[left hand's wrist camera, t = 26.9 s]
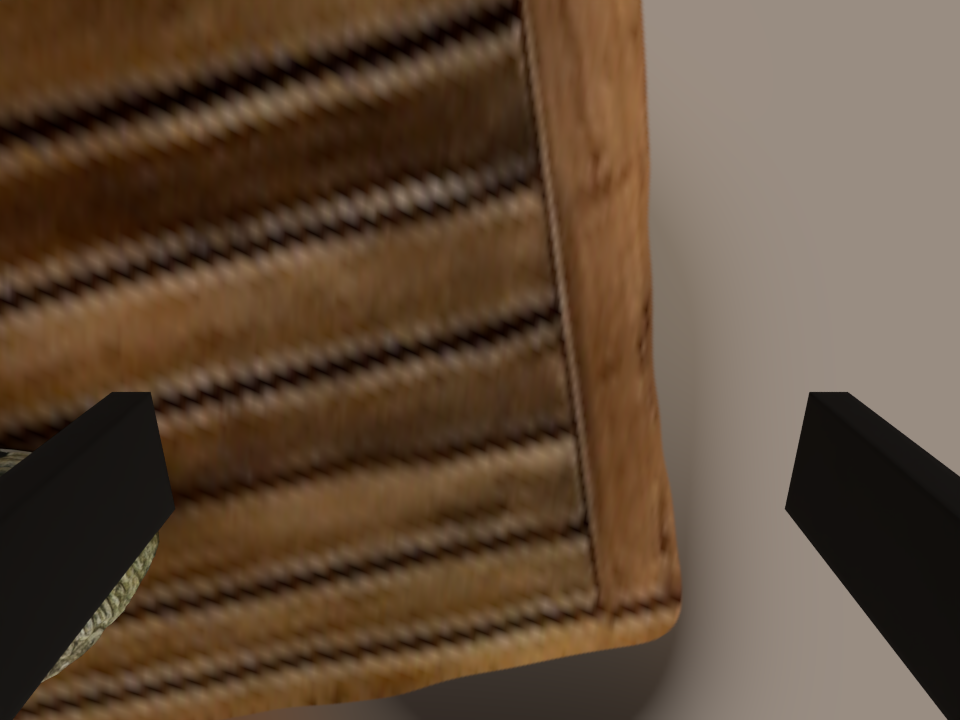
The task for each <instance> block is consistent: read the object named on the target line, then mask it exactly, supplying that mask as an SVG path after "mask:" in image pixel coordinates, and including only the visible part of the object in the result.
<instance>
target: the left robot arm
mask: <svg viewBox="0 0 960 720" xmlns="http://www.w3.org/2000/svg"><path fill="white" fill-rule="evenodd" d="M174 510H175V506H174V501H173V496H172V492H171V487H170V482H169V477H168V473H167V468H166V463H165V458H164V454H163V449H162V444H161V439H160V435H159V430H158V425H157V420H156V416H155V411H154V406H153V401H152V397H151V392H112V393H110V394H109V395H108V396H106V397H105V398H104V399H102V400H101V401H100V402H98V403H97V404H96V405H94V406H93V407H92V408H90V409H89V410H88V411H86V412H85V413H84V414H82V415H81V416H80V417H78V418H77V419H76V420H75V421H73V422H72V423H71V424H69V425H68V426H67V427H65V428H64V429H63V430H61V431H60V432H59V433H57V434H56V435H55V436H53V437H52V438H51V439H49V440H48V441H47V442H45V443H44V444H43V445H41V446H40V447H39V448H37V449H36V450H35V451H34V452H32V453H31V454H30V455H28V456H27V457H26V458H24V459H23V460H22V461H20V462H19V463H18V464H16V465H15V466H14V467H12V468H11V469H10V470H8V471H7V472H6V473H4V474H3V475H2V476H0V720H13V718H14V717H15V716H16V714H17V713H18V712H19V711H20V709H21V708H22V707H23V705H24V704H25V703H26V701H27V700H28V699H29V698H30V696H31V695H32V694H33V692H34V691H35V690H36V689H37V687H38V686H39V685H40V683H41V682H42V681H43V679H44V678H45V677H46V676H47V674H48V673H49V672H50V670H51V669H52V668H53V666H54V665H55V664H56V663H57V661H58V660H59V659H60V657H61V656H62V655H63V654H64V652H65V651H66V650H67V648H68V647H69V646H70V644H71V643H72V642H73V641H74V639H75V638H76V637H77V635H78V634H79V633H80V632H81V630H82V629H83V628H84V626H85V625H86V624H87V622H88V621H89V620H90V619H91V617H92V616H93V615H94V613H95V612H96V611H97V610H98V608H99V607H100V606H101V604H102V603H103V602H104V600H105V599H106V598H107V597H108V595H109V594H110V593H111V591H112V590H113V589H114V587H115V586H116V585H117V584H118V582H119V581H120V580H121V578H122V577H123V576H124V575H125V573H126V572H127V571H128V569H129V568H130V567H131V565H132V564H133V563H134V562H135V560H136V559H137V558H138V556H139V555H140V554H141V553H142V551H143V550H144V549H145V547H146V546H147V545H148V543H149V542H150V541H151V540H152V538H153V537H154V536H155V534H156V533H157V532H158V530H159V529H160V528H161V527H162V525H163V524H164V523H165V521H166V520H167V519H168V518H169V516H170V515H171V514H172V512H173V511H174ZM785 510H786V511H787V512H788V514H789V515H790V516H791V518H792V519H793V520H794V521H795V523H796V524H797V525H798V527H799V528H800V529H801V530H802V532H803V533H804V534H805V536H806V537H807V538H808V540H809V541H810V542H811V543H812V545H813V546H814V547H815V549H816V550H817V551H818V552H819V554H820V555H821V556H822V558H823V559H824V560H825V562H826V563H827V564H828V565H829V567H830V568H831V569H832V571H833V572H834V573H835V574H836V576H837V577H838V578H839V580H840V581H841V582H842V584H843V585H844V586H845V587H846V589H847V590H848V591H849V593H850V594H851V595H852V597H853V598H854V599H855V600H856V602H857V603H858V604H859V606H860V607H861V608H862V609H863V611H864V612H865V613H866V615H867V616H868V617H869V618H870V620H871V621H872V622H873V624H874V625H875V626H876V628H877V629H878V630H879V632H880V633H881V634H882V635H883V637H884V638H885V639H886V641H887V642H888V643H889V644H890V646H891V647H892V648H893V650H894V651H895V652H896V654H897V655H898V656H899V657H900V659H901V660H902V661H903V663H904V664H905V665H906V666H907V668H908V669H909V670H910V672H911V673H912V674H913V676H914V677H915V678H916V679H917V681H918V682H919V683H920V685H921V686H922V687H923V689H924V690H925V691H926V692H927V694H928V695H929V696H930V698H931V699H932V700H933V701H934V703H935V704H936V705H937V707H938V708H939V709H940V710H941V712H942V713H943V714H944V716H945V717H946V718H947V720H960V476H958V475H957V474H956V473H954V472H953V471H952V470H950V469H949V468H948V467H946V466H945V465H944V464H942V463H941V462H940V461H938V460H937V459H936V458H934V457H933V456H932V455H930V454H929V453H928V452H926V451H925V450H924V449H922V448H921V447H920V446H919V445H917V444H916V443H914V442H913V441H912V440H911V439H909V438H908V437H907V436H905V435H904V434H903V433H901V432H900V431H899V430H897V429H896V428H895V427H893V426H892V425H891V424H889V423H888V422H887V421H885V420H884V419H883V418H882V417H880V416H879V415H878V414H876V413H875V412H874V411H872V410H871V409H870V408H868V407H867V406H866V405H864V404H863V403H862V402H860V401H859V400H858V399H856V398H855V397H854V396H852V395H851V394H850V393H848V392H809V397H808V401H807V406H806V411H805V416H804V420H803V425H802V430H801V435H800V439H799V444H798V449H797V454H796V458H795V463H794V468H793V473H792V477H791V482H790V487H789V492H788V496H787V501H786V506H785Z"/></svg>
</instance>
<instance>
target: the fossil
mask: <svg viewBox="0 0 960 720" xmlns="http://www.w3.org/2000/svg"><path fill="white" fill-rule="evenodd" d="M31 453H32V452H26V451H19V450H9V449H0V476H2V475H3V474H4V473H6V472H7V471H8V470H10V469H11V468H12V467H14V466H15V465H16V464H18V463H19V462H20V461H22V460H23V459H24V458H26V457H27V456H28V455H30V454H31ZM158 544H159V534H158V532H157V533H156V534H155V536H154V537H153V538H152V540H151V541H150V542H149V543H148V545H147V546H146V547H145V549H144V550H143V551H142V553H141V554H140V555H139V556H138V558H137V559H136V560H135V562H134V563H133V564H132V565H131V567H130V568H129V569H128V571H127V572H126V573H125V575H124V576H123V577H122V578H121V580H120V581H119V582H118V584H117V585H116V586H115V587H114V589H113V590H112V591H111V593H110V594H109V595H108V597H107V598H106V599H105V600H104V602H103V603H102V604H101V606H100V607H99V608H98V610H97V611H96V612H95V613H94V615H93V616H92V617H91V619H90V620H89V621H88V622H87V624H86V625H85V626H84V628H83V629H82V630H81V632H80V633H79V634H78V635H77V637H76V638H75V639H74V641H73V642H72V643H71V644H70V646H69V647H68V648H67V650H66V651H65V652H64V654H63V655H62V656H61V657H60V659H59V660H58V661H57V663H56V664H55V665H54V666H53V668H52V669H51V670H50V672H49V673H48V674H47V676H46V677H45V678H44V679H43V681H45V680H46V679H48V678H50V677H52V676H54V675H56V674H58V673H59V672H60V671H62V670H63V669H64V668H65V667H67V666H68V665H69V664H71V663H72V662H74V661H75V660H76V659H78V658H79V657H81V656H82V655H83V654H84V653H85V652H86V651H87V650H88V649H89V648H90V647H91V646H93V645H94V644H95V643H96V641H97V640H98V639H99V638H100V636H101V634H102V632H103V631H104V629H105V628H106V627H107V626H109V625H110V624H111V623H112V622H113V621H114V620H115V619H116V618H117V617H118V616H119V615H120V614H121V613H122V612H123V611H124V610H125V607H126V606H127V604H128V603H129V602H130V599H131V598H132V596H133V595H134V593H135V592H136V590H137V588H138V586H139V585H140V583H141V581H142V579H143V578H144V576H145V575H146V573H147V571H148V569H149V567H150V565H151V561H152V559H153V558H154V557H155V554H156V550H157V547H158ZM43 681H42V682H43Z"/></svg>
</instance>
